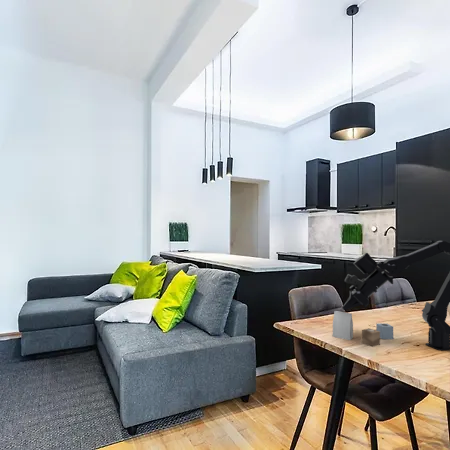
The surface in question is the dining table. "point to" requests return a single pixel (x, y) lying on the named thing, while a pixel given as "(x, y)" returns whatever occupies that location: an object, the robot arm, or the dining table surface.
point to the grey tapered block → (342, 325)
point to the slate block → (385, 330)
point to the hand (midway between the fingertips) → (342, 308)
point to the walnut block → (371, 337)
